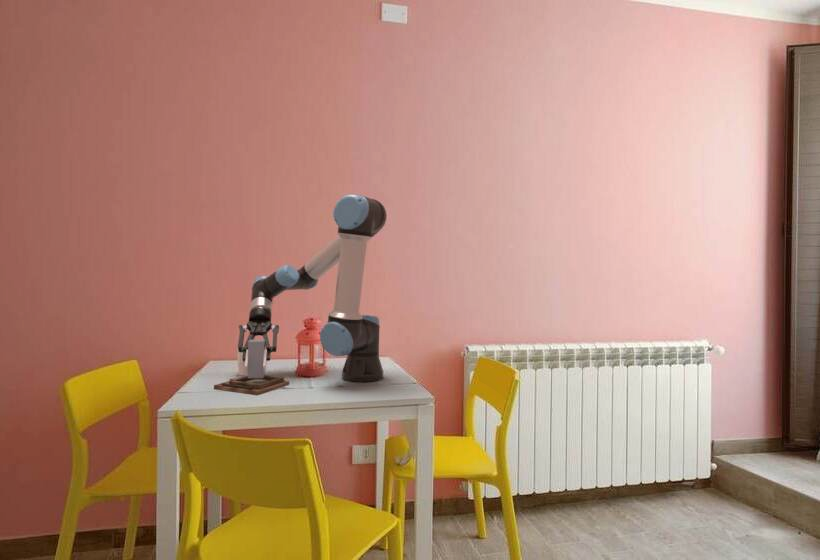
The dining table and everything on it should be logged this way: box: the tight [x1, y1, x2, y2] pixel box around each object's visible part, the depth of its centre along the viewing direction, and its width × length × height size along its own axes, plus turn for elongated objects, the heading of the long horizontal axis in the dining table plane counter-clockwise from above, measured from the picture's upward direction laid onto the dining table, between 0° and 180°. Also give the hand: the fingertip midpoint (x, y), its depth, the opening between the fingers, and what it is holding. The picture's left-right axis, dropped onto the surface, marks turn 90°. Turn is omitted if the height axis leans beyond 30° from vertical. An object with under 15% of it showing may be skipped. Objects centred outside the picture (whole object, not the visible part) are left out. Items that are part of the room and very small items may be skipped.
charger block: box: [248, 338, 266, 378], centre depth 168 cm, size 5×5×12 cm
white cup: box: [236, 345, 248, 377], centre depth 189 cm, size 8×8×10 cm
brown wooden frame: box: [213, 374, 290, 396], centre depth 169 cm, size 18×16×3 cm
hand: (255, 368), depth 165 cm, fingers closed on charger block, 5 cm apart
